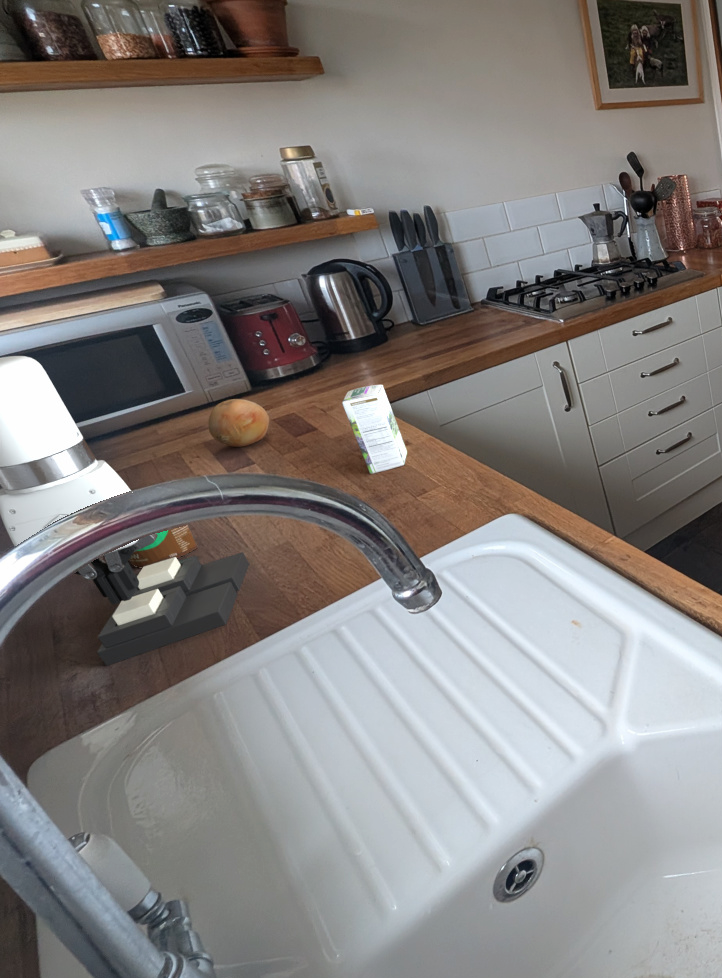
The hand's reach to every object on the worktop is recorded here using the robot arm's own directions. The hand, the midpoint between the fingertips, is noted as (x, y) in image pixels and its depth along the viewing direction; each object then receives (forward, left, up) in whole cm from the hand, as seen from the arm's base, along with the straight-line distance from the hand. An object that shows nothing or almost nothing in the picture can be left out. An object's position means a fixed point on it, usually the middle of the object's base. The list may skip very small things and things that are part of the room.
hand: (125, 595), depth 83 cm
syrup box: (+26, +34, -7) cm, 44 cm away
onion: (-1, +67, -7) cm, 67 cm away
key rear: (0, +8, -3) cm, 9 cm away
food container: (-6, +23, -7) cm, 25 cm away
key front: (0, 0, -3) cm, 3 cm away
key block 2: (+2, 0, -7) cm, 7 cm away
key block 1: (+2, +8, -7) cm, 11 cm away
